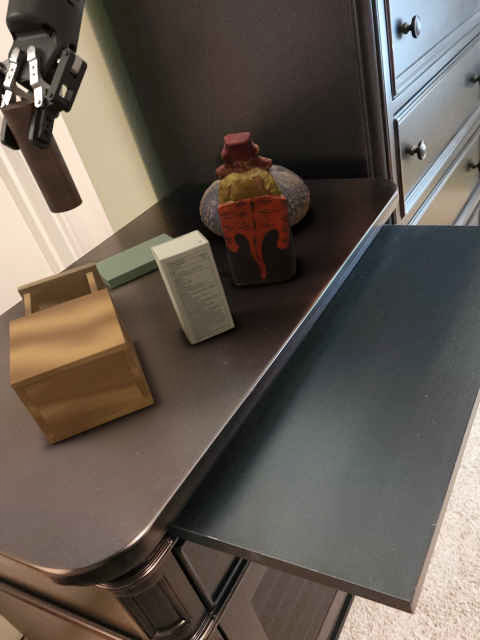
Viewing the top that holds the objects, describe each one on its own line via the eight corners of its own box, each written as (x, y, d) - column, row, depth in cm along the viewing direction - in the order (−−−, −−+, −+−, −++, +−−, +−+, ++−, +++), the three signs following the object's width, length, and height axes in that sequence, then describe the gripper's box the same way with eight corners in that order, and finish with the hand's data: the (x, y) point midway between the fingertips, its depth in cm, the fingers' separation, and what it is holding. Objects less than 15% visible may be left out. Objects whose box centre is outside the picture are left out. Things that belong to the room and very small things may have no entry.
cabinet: (44, 377, 66) (9, 321, 61) (133, 344, 69) (107, 287, 63) (51, 444, 56) (9, 384, 51) (154, 403, 59) (125, 342, 53)
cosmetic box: (224, 313, 71) (199, 228, 63) (236, 328, 68) (210, 240, 60) (181, 330, 69) (149, 245, 61) (190, 346, 66) (158, 259, 58)
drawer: (40, 315, 77) (16, 274, 72) (109, 291, 79) (90, 250, 75) (46, 375, 65) (18, 330, 60) (128, 345, 67) (106, 300, 62)
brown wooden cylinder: (44, 214, 67) (-8, 111, 59) (60, 201, 70) (13, 101, 62) (73, 211, 66) (24, 106, 58) (88, 198, 69) (44, 96, 61)
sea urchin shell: (237, 196, 101) (233, 141, 94) (326, 217, 95) (329, 160, 88) (182, 239, 89) (172, 180, 82) (280, 266, 84) (279, 205, 76)
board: (111, 289, 82) (107, 280, 81) (93, 274, 87) (89, 265, 86) (188, 253, 87) (185, 245, 86) (167, 241, 92) (164, 233, 91)
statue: (302, 256, 80) (277, 112, 66) (298, 283, 74) (270, 131, 60) (225, 265, 81) (187, 126, 68) (216, 291, 76) (171, 146, 62)
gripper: (-23, -16, 60) (-47, 132, 61) (65, -37, 54) (38, 127, 55) (33, 30, 67) (12, 162, 68) (117, 15, 61) (93, 160, 62)
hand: (24, 145), depth 61 cm, fingers closed on brown wooden cylinder, 4 cm apart
